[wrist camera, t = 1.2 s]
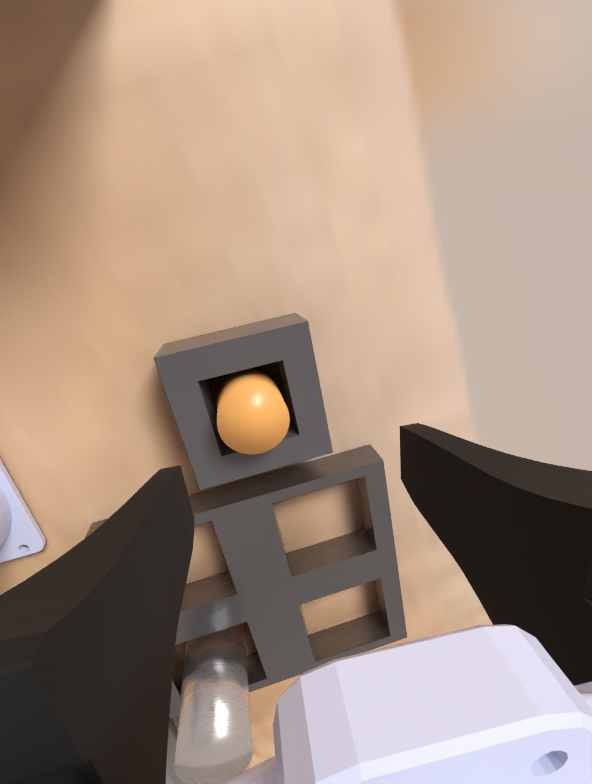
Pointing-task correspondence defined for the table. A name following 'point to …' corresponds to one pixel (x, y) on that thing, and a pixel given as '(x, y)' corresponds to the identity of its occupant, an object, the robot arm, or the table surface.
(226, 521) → the frame
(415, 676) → the robot arm
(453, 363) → the table surface
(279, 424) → the button
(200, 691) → the cylinder
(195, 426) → the button housing
